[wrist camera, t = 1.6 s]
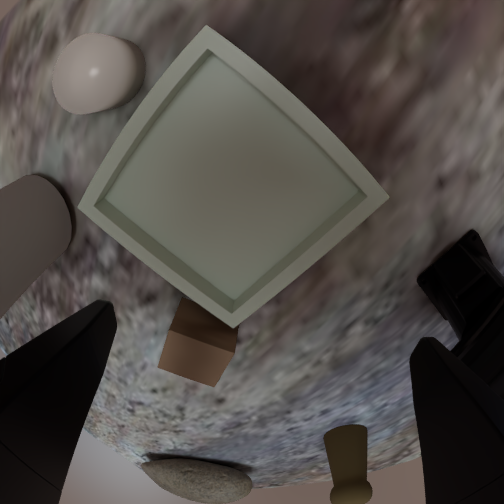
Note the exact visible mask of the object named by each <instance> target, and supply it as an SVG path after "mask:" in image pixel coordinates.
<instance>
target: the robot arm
mask: <svg viewBox="0 0 504 504" xmlns="http://www.w3.org/2000/svg"><path fill="white" fill-rule="evenodd" d="M473 235H474V237H473ZM472 237H473V238H472ZM424 279H425V280H424ZM423 280H424V281H423ZM422 281H423V282H422ZM417 282H418V284H419V286H420V287H421V288H422V290H423V291H424V292H425V294H426V295H427V296H428V298H429V299H430V300H431V302H432V303H433V304H434V306H435V307H436V308H437V310H438V311H439V312H440V314H441V315H442V316H443V318H444V319H445V320H448V321H449V323H450V325H451V326H452V328H453V330H454V332H455V334H456V335H457V337H458V339H459V342H458V343H457V344H456V345H455V346H454V348H453V349H452V350H451V351H449V350H448V349H447V348H446V347H445V346H444V345H443V344H441V343H440V342H439V341H438V340H437V339H436V338H434V337H423V338H421V339H420V341H419V342H418V344H417V346H416V347H415V349H414V351H413V352H412V354H411V356H410V361H409V363H410V372H411V382H412V392H413V402H414V410H415V416H416V421H417V428H418V434H419V441H420V448H421V456H422V463H423V473H424V484H425V497H426V504H504V277H503V276H502V274H501V273H500V272H499V271H498V270H497V269H496V268H495V267H494V266H493V263H492V261H491V259H490V257H489V255H488V252H487V250H486V248H485V246H484V244H483V242H482V240H481V238H480V236H479V234H478V233H477V232H476V231H475V230H471V231H469V232H468V233H467V234H466V235H465V236H464V237H463V238H462V239H461V240H460V241H459V242H458V243H457V244H456V245H454V246H453V247H452V248H451V249H450V250H449V251H448V252H447V253H446V254H444V255H443V256H442V257H441V258H440V259H439V260H438V261H436V262H435V263H434V264H433V265H432V266H431V267H429V268H428V269H427V270H426V271H425V272H423V273H422V274H421V275H420V276H419V277H418V279H417ZM116 330H117V321H116V316H115V312H114V307H113V304H112V303H111V302H110V301H106V300H101V299H99V300H96V301H95V302H93V303H91V304H90V305H88V306H86V307H84V308H83V309H81V310H79V311H78V312H76V313H74V314H73V315H71V316H70V317H68V318H66V319H65V320H63V321H61V322H60V323H58V324H56V325H55V326H53V327H52V328H50V329H48V330H47V331H45V332H43V333H42V334H40V335H39V336H37V337H35V338H34V339H32V340H31V341H29V342H27V343H26V344H24V345H23V346H21V347H20V348H18V349H16V350H15V351H13V352H12V353H10V354H9V355H7V356H6V358H5V357H4V358H2V359H1V360H0V504H59V500H60V497H61V493H62V489H63V486H64V482H65V479H66V476H67V473H68V469H69V466H70V463H71V460H72V457H73V454H74V451H75V448H76V445H77V442H78V439H79V436H80V434H81V431H82V428H83V425H84V423H85V420H86V417H87V415H88V412H89V409H90V407H91V404H92V402H93V399H94V396H95V394H96V391H97V389H98V386H99V384H100V381H101V379H102V376H103V373H104V370H105V367H106V363H107V360H108V357H109V353H110V350H111V347H112V343H113V340H114V337H115V334H116Z"/></svg>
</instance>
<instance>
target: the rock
mask: <svg viewBox="0 0 504 504" xmlns="http://www.w3.org/2000/svg"><path fill="white" fill-rule="evenodd" d="M141 467H142V469H143V470H144V472H145V473H146V474H147V475H148V476H149V477H150V478H151V479H152V480H153V481H154V482H155V483H156V484H158V485H159V486H160V487H161V488H163V489H165V490H167V491H169V492H171V493H173V494H175V495H177V496H180V497H182V498H186V499H188V500H192V501H196V502H201V503H209V504H223V503H229V502H234V501H237V500H239V499H241V498H243V497H245V496H247V495H248V494H249V493H250V491H251V489H252V480H251V478H250V477H249V476H248V475H246V474H244V473H243V472H240V471H238V470H236V469H234V468H231V467H227V466H223V465H218V464H214V463H209V462H204V461H199V460H193V459H182V458H181V459H177V458H174V459H165V460H157V461H150V462H144V463H142V464H141Z"/></svg>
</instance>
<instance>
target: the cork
mask: <svg viewBox="0 0 504 504" xmlns="http://www.w3.org/2000/svg"><path fill="white" fill-rule="evenodd" d="M323 439H324V443H325V447H326V452H327V456H328V461H329V465H330V470H331V474H332V479H333V484H334V487H333V488H332V490H331V493H330V501H331V503H332V504H365V503H367V502H368V501H369V500H370V499H371V497H372V487H371V485H370V483H369V482H368V481H367V428H366V427H364V426H362V425H344V426H340V427H337V428H334V429H332V430H330V431H328V432H327V433H326V434H325V435H324V438H323Z"/></svg>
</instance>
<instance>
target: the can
mask: <svg viewBox="0 0 504 504" xmlns="http://www.w3.org/2000/svg"><path fill="white" fill-rule="evenodd" d="M71 231H72V225H71V220H70V214H69V211H68V208H67V206H66V203H65V201H64V199H63V197H62V196H61V195H60V193H59V192H58V190H57V189H56V187H54V186H53V185H52V184H51V183H50V182H49V181H47V180H46V179H45V178H42V177H40V176H37V175H26V176H24V177H22V178H20V179H18V180H16V181H14V182H13V183H11V184H9V185H7V186H5V187H3V188H2V189H0V319H1V318H2V317H3V316H4V314H5V313H6V312H7V311H8V310H9V309H10V307H11V306H12V305H13V304H14V303H15V302H16V301H17V300H18V298H19V297H20V296H21V295H22V294H23V293H24V292H25V291H26V290H27V289H28V288H29V287H30V285H31V284H32V283H33V282H34V281H35V280H36V279H37V278H38V277H39V276H40V275H41V274H42V273H43V272H44V271H45V270H46V269H47V268H48V267H49V266H50V265H51V264H52V263H53V262H54V261H55V260H56V259H57V258H58V257H59V256H60V255H61V254H62V253H63V252H64V251H65V250H66V249H67V247H68V245H69V243H70V240H71Z"/></svg>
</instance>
